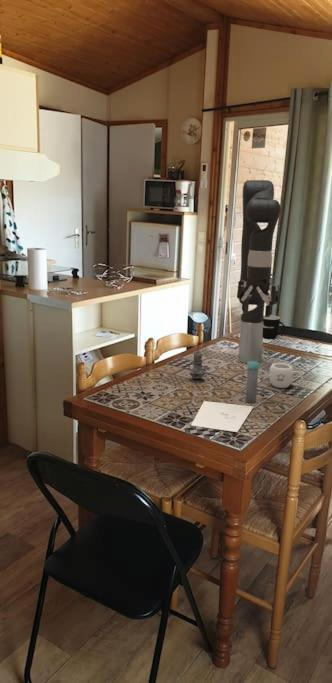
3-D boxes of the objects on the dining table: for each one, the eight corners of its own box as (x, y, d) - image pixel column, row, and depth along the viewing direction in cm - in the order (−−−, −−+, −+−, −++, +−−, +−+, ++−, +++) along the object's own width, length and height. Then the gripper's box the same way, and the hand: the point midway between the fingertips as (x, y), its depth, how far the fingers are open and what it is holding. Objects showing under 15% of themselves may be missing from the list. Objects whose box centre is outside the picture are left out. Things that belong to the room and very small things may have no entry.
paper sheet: (234, 438, 156) (234, 434, 156) (146, 421, 169) (146, 417, 168) (258, 409, 176) (258, 406, 176) (178, 396, 189) (178, 393, 189)
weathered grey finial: (203, 383, 199) (204, 352, 195) (187, 382, 200) (188, 351, 196) (205, 378, 204) (206, 348, 201) (190, 377, 205) (191, 346, 202)
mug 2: (266, 388, 195) (268, 367, 193) (270, 380, 203) (272, 360, 201) (300, 392, 192) (302, 371, 190) (303, 385, 199) (304, 364, 197)
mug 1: (257, 338, 262) (258, 317, 259) (263, 334, 270) (264, 314, 267) (281, 341, 257) (283, 321, 254) (286, 337, 264) (288, 317, 262)
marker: (249, 398, 186) (251, 359, 182) (258, 401, 183) (261, 362, 179) (242, 401, 183) (245, 362, 179) (252, 404, 180) (254, 364, 177)
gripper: (285, 265, 169) (281, 316, 173) (247, 261, 178) (244, 309, 182) (272, 268, 163) (268, 320, 168) (234, 263, 172) (231, 312, 177)
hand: (256, 314), depth 175 cm, fingers open, 8 cm apart
